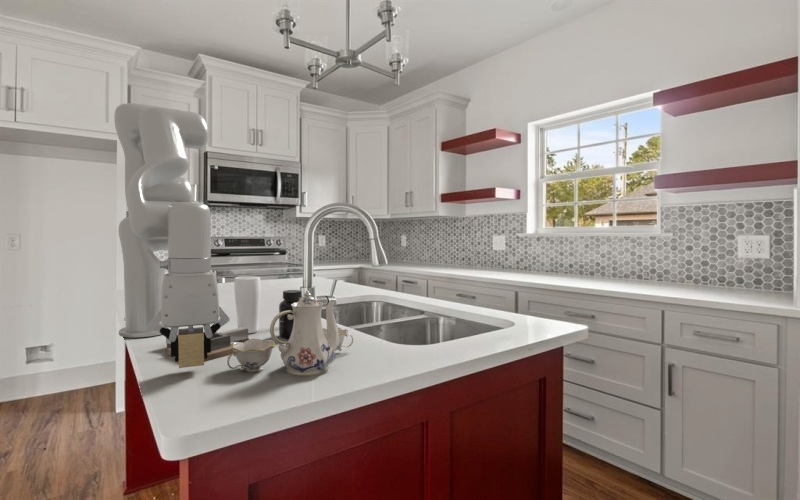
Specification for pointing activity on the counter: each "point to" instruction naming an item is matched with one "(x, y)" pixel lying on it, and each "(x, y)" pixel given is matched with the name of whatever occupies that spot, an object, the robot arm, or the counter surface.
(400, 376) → the counter surface
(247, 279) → the drinking glass
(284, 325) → the supplement bottle
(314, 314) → the chinaware
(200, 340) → the block
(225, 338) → the shaft rig
